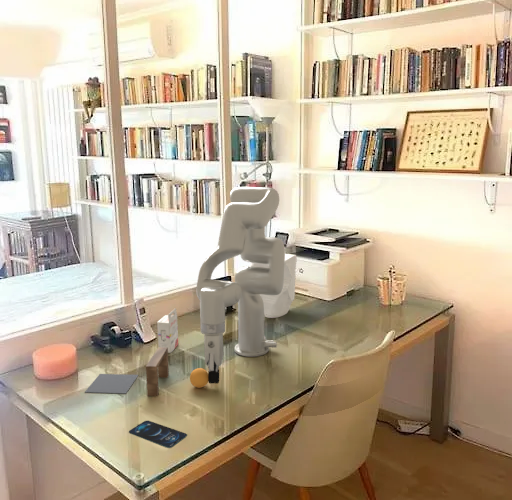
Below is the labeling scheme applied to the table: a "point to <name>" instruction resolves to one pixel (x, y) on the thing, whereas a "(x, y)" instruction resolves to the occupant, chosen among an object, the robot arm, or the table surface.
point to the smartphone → (158, 434)
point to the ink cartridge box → (168, 331)
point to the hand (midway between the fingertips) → (214, 382)
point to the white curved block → (282, 301)
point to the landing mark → (112, 383)
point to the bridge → (156, 370)
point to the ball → (199, 377)
